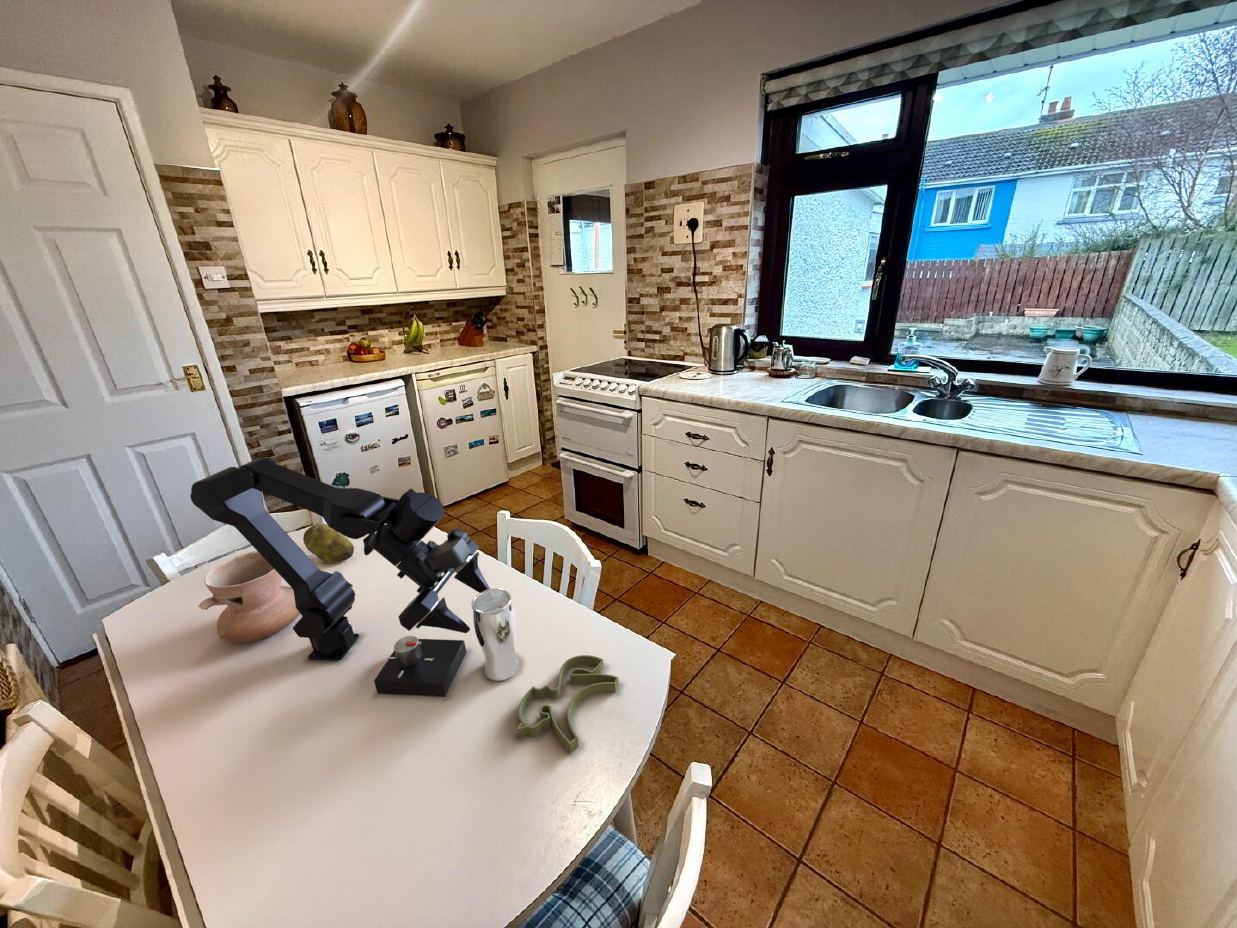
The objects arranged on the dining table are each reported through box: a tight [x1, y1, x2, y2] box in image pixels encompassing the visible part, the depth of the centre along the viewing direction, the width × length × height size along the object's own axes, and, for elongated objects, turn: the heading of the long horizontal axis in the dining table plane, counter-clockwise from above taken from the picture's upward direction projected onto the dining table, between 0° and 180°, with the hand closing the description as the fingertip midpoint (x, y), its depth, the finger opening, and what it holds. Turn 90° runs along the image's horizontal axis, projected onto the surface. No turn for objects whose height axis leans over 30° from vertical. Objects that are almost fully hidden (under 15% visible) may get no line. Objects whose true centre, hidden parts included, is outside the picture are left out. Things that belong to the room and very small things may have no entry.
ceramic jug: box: [197, 550, 301, 644], centre depth 97 cm, size 18×14×14 cm
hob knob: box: [393, 635, 422, 668], centre depth 85 cm, size 4×4×4 cm
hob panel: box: [373, 638, 467, 698], centre depth 86 cm, size 12×10×3 cm
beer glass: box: [470, 587, 520, 682], centre depth 84 cm, size 7×7×15 cm
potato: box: [302, 523, 355, 563], centre depth 120 cm, size 8×13×8 cm, turn 49°
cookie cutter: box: [517, 654, 620, 754], centre depth 80 cm, size 18×12×2 cm, turn 149°
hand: (480, 612), depth 83 cm, fingers open, 9 cm apart
